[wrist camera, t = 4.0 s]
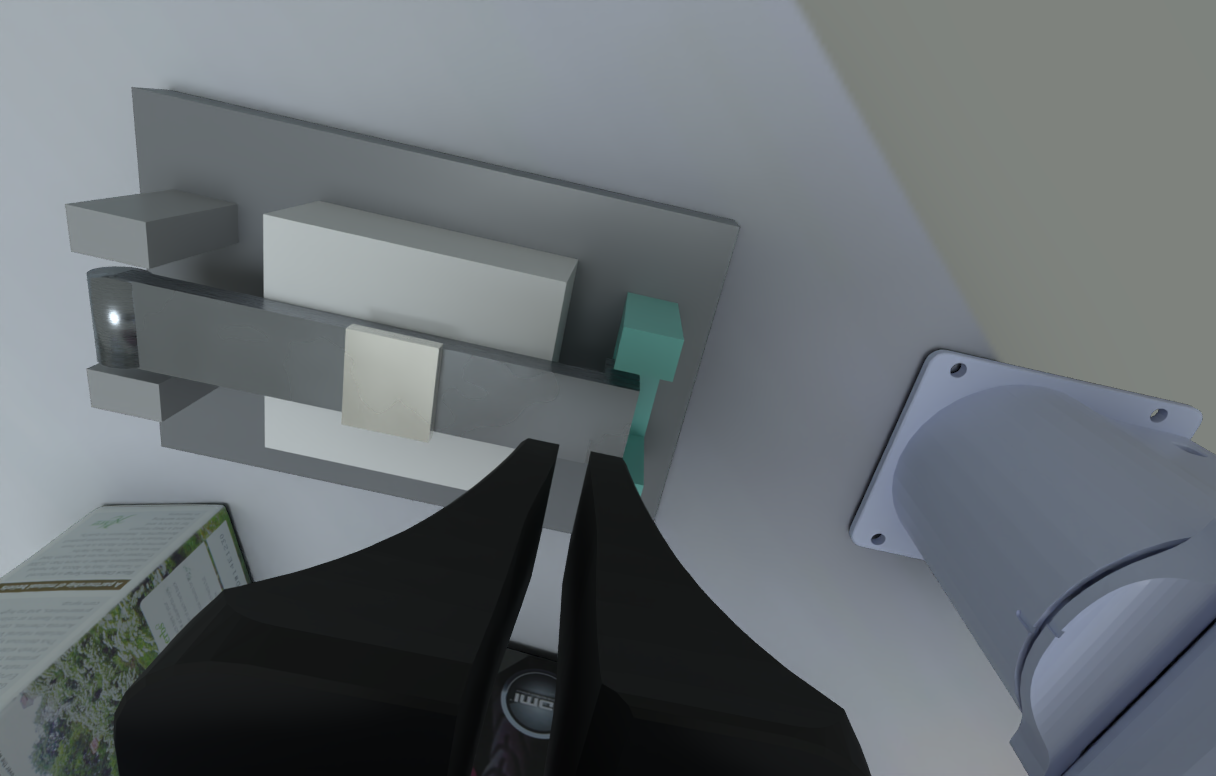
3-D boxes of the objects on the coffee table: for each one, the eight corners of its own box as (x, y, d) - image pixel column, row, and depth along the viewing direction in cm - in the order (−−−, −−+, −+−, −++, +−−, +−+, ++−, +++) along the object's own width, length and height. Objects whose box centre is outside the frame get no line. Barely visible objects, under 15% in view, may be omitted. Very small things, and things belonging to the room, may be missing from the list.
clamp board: (733, 219, 20) (761, 251, 15) (645, 525, 25) (645, 625, 20) (168, 89, 19) (6, 78, 14) (189, 427, 24) (72, 505, 19)
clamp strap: (641, 360, 18) (641, 392, 16) (620, 442, 19) (617, 482, 17) (138, 249, 18) (67, 267, 16) (146, 340, 19) (81, 369, 17)
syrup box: (96, 501, 26) (-501, 911, 12) (233, 500, 25) (-233, 922, 12) (144, 610, 28) (-318, 1057, 15) (270, 610, 27) (-86, 1070, 14)
